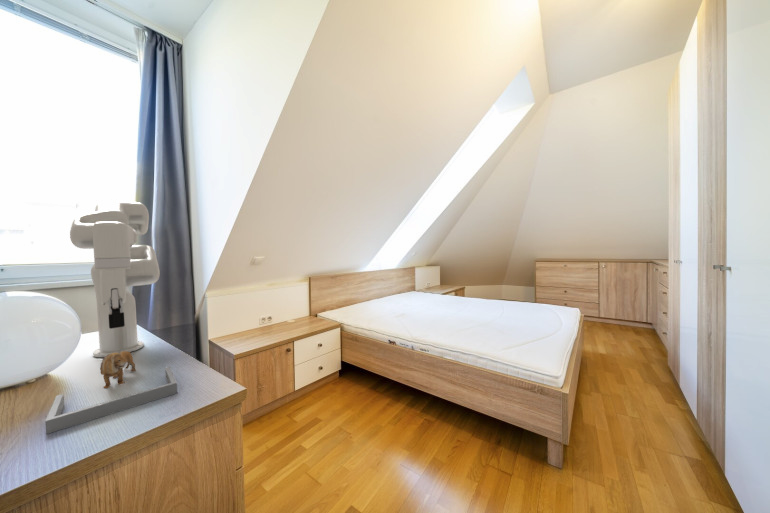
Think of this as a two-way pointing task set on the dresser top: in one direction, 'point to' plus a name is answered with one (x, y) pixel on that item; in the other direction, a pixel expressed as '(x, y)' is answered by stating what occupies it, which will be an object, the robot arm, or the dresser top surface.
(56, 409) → the box
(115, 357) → the lion figurine
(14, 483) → the dresser top surface
